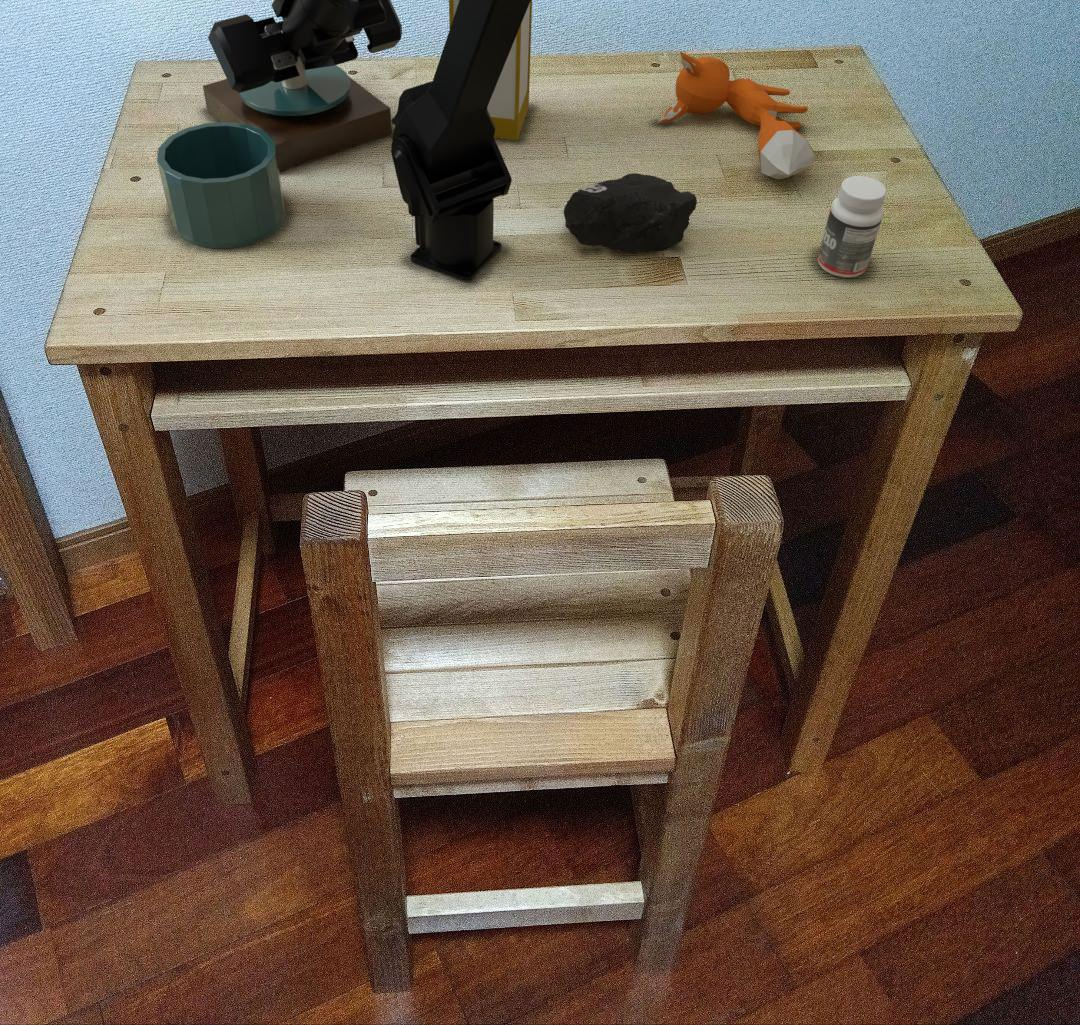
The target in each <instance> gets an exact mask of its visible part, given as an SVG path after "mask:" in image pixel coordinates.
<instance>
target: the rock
mask: <svg viewBox="0 0 1080 1025" xmlns="http://www.w3.org/2000/svg"><path fill="white" fill-rule="evenodd" d="M697 204H698V199H697V196H696V194H694V193H691V192H690V191H679V190H678V189H676V188H675V187H674V184H673V183H672V181H667V180H666V179H664V178H661V177H658V176H656V175H650V174H642V173H635V172H633V173H632V172H631V173H627V174H625V175H623V176H622V177H620V178H616V179H608V180H607V179H606V180H604V181H600V182H597V183H593V184H591V185H589V186H586V187H583V188H580V189H578V190H577V191H575V192H573V193H572V194H571V196H570V198H569V199H568V200H567V201H566V204H565V205H564V208H563V216H564V220H565V222H564V227H565V228H566V229H568V232H569V233H570V235H572V236H573V237H574V238H575V239H576V240H577V242H578V243H579V245H582V246H587V247H599V246H600V247H603V248H606V249H608V250H612V251H618V252H621V253H625V254H634V253H638V252H642V253H643V252H661V251H667V250H670V249H672V248H674V247H675V245H678V244H680V243H681V242H683V239H684V237H685V236H684V234H685V231H686V230H687V228H688V227H689V225H690V216H691V215H692V214H693V212H694V211H695V210H696V209H697Z"/></svg>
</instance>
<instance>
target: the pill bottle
mask: <svg viewBox="0 0 1080 1025" xmlns="http://www.w3.org/2000/svg"><path fill="white" fill-rule="evenodd" d="M886 194H887V188H886V186H885V185H884V184H883V183H882V182H881V181H880V180H878V179H875V178H873V177H870V176H866V175H853V176H849V177H846V178H845V179H844V180H843V181H842V183H841V185H840V189H839V191H838V196H836V198H835V199H834V200H832V203H831V205H830V209H829V213H828V217H827V221H826V224H825V228H824V232H823V236H822V239H821V243H820V247H819V251H818V254H817V262H818V265H819V267H820V268H821V269H822V270H824V271H825V272H826V273H828V274H830V275H833V276H837V277H841V278H856V277H858V276H861V275H862V274H864V273H865V272H866V271H867V268H868V266H869V263H870V259H871V256H872V252H873V249H874V246H875V244H876V240H877V237H878V234H879V230H880V227H881V225H882V224H881V223H882V221H883V217H884V209H883V205H884V203H885V199H886Z"/></svg>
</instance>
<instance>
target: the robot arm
mask: <svg viewBox="0 0 1080 1025" xmlns="http://www.w3.org/2000/svg"><path fill="white" fill-rule="evenodd" d="M530 1H531V0H459V3H458V6H457V9H456V12H455V15H454V18H453V21H452V24H451V27H449V30H448V33H447V36H446V39H445V42H444V45H443V49H442V52H441V54H440V58H439V61H438V64H437V67H436V70H435V72H434V74H433V79H432V80H431V81H429V82H424V83H421V84H418V85H416V86H412V87H408V88H406V89H404V90H402V93H401V94H400V96H399V98H398V105H397V111H396V113H395V115H394V117H392V118H391V124H393V125H394V129H393V131H392V137H391V138H392V141H391V145H390V155H391V159H392V163H393V168H394V171H395V175H396V179H397V184H398V188H399V192H400V195H401V198H402V200H403V201H404V203H405V204H406V205H407V210H408V211H407V212H408V215H410V216H411V217H414V234H415V236H414V237H415V244H416V246H419V247H418V248H416V249H415V250H414V251H413V252H412V253H411V254H410V262H412V263H414V264H417V265H419V266H421V267H425V268H428V269H430V270H433V271H436V272H438V273H441V274H443V275H447V276H449V277H452V278H455V279H458V280H460V281H464V282H470V281H472V280H473V279H474V278H475V277H476V276H477V275H478V274H479V273H480V272H481V271H482V270H483V269H484V268H485V267H486V266H487V265H488V264H489V263H490V262H491V261H492V260H493V259H494V258H495V257H496V256H497V255H498V254H499V252H501V251H502V250H503V247H502V246H503V244H502V243H501V242H500V241H497V240H494V218H495V217H494V214H495V212H494V210H495V209H494V206H495V205H494V202H495V199H496V198H498V197H503V196H506V195H509V191H510V187H511V185H512V183H513V182H512V181H513V179H512V175H511V173H510V171H509V169H508V166H507V164H506V161H505V159H504V158H503V155H502V153H501V150H500V148H499V146H498V143H497V141H496V138H494V134H495V130H496V128H495V125H494V123H493V121H492V119H491V117H490V115H489V112H488V110H487V107H488V104H489V102H490V99H491V97H492V94H493V92H494V89H495V87H496V85H497V82H498V80H499V77H500V75H501V72H502V70H503V67H504V65H505V62H506V60H507V58H508V55H509V53H510V50H511V48H512V45H513V43H514V40H515V38H516V35H517V33H518V31H519V28H520V26H521V23H522V21H523V18H524V16H525V13H526V11H527V8H528V6H529V4H530ZM271 8H272V10H273V12H274V14H275V17H276V18H277V19H278V18H281V19H282V20H281V21H276V20H275V18H274V16H271V17H268V18H267V17H266V18H263V19H260V20H256V21H255V20H254V19H253V17H251V16H250V15H249V14H247V13H246V14H242V15H238V16H237V15H236V16H234V17H231V18H226V19H223V20H219V21H215V22H213V25H212V27H211V29H210V32H209V34H208V37H207V39H208V41H209V43H210V45H211V48H212V50H213V52H214V54H215V56H216V59H217V61H218V63H219V65H220V67H221V70H222V72H223V73H224V75H225V79H227V80H228V82H229V84H230V86H231V89H233V90H235V91H237V92H239V93H241V92H244V91H248V90H251V89H255V88H258V87H261V86H264V85H266V84H267V83H269V82H271V81H273V82H281V81H284V80H288V79H291V78H294V77H298V76H300V74H299V72H298V70H297V68H296V65H295V64H296V63H297V61H298V57H300V58H301V61H302V63H303V64H305V70H309V69H315V68H321V67H328V66H334V65H336V66H339V65H342V64H345V63H348V62H352V61H355V60H356V59H357V58H358V57H359V52H358V49H357V47H356V45H355V42H354V41H355V37H354V36H357V35H360V34H361V33H362V31H364V33H365V35H366V37H367V40H368V42H369V43H368V44H367V45H366V48H367V51H368V52H369V53H371V54H376V53H379V52H382V51H385V50H389V49H392V48H395V47H396V46H397V45H398V43H399V42H400V41H401V40H402V36H403V25H402V23H401V21H400V18H399V17H398V13H397V12H396V8H395V7H394V5H393V2H392V0H273V1H272V3H271Z"/></svg>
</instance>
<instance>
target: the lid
mask: <svg viewBox="0 0 1080 1025" xmlns="http://www.w3.org/2000/svg"><path fill="white" fill-rule="evenodd" d="M295 65H296V68H297V70H298V72H299V74H300V76H298V77H294V78H291V79H288V80H284V81H281V82H273V81H271V82H269V83H267V84H266V85H264V86H261V87H258V88H255V89H251V90H248V91H244V92H241V93H239V92H238V93H239V96H240V98H241V100H242V101H243V102H244V103H245V104H246V105H248V106H249V107H251V108H253V109H255V110H257V111H260V112H263V113H267V114H271V115H278V116H303V115H310V114H315V113H319V112H323V111H326V110H328V109H331V108H333V107H335V106H337V105H338V104H340V103H341V102H343V101H344V100H345V99H346V98H347V96H348V95H349V92H350V89H351V84H350V79H349V77H350V76H349V75H348V74H347V72H346V71H345V70H343V69H342V67H340V66H339V65H334V66H328V67H321V68H315V69H309V70H305V64H303V63H302V61H301V58H300V57H298V61H297V63H296V64H295Z"/></svg>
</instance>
